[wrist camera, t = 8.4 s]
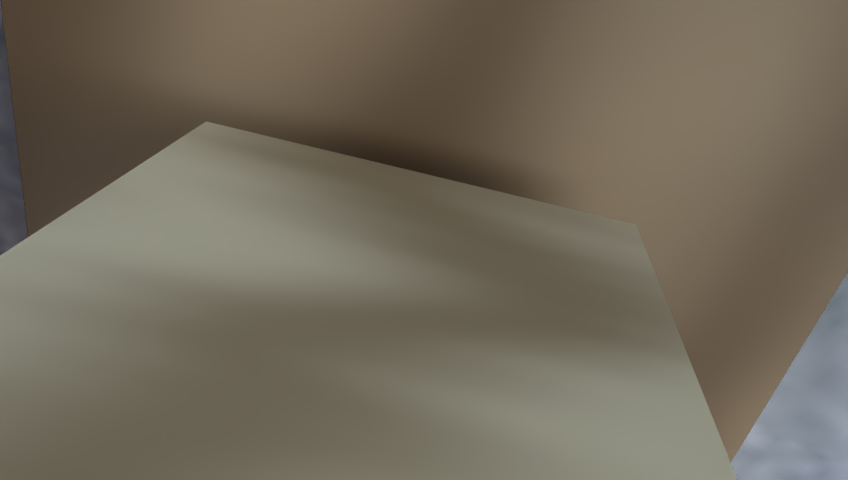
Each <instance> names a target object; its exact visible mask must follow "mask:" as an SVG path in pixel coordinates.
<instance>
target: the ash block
mask: <svg viewBox="0 0 848 480" xmlns="http://www.w3.org/2000/svg"><path fill="white" fill-rule="evenodd" d="M0 480H737V478H736V475H735V473H734V470H733V468H732V465H731V463H730V460H729V457H728V455H727V452H726V450H725V447H724V445H723V442H722V440H721V437H720V435H719V432H718V430H717V427H716V425H715V422H714V420H713V417H712V415H711V412H710V410H709V407H708V405H707V402H706V400H705V397H704V395H703V392H702V390H701V387H700V385H699V382H698V380H697V377H696V375H695V372H694V370H693V367H692V364H691V362H690V359H689V357H688V354H687V352H686V349H685V347H684V344H683V342H682V339H681V337H680V334H679V332H678V329H677V327H676V324H675V322H674V319H673V317H672V314H671V312H670V309H669V307H668V304H667V302H666V299H665V297H664V294H663V292H662V289H661V287H660V284H659V282H658V279H657V276H656V274H655V271H654V269H653V266H652V264H651V261H650V259H649V256H648V254H647V251H646V249H645V246H644V244H643V241H642V239H641V236H640V234H639V231H638V229H637V226H636V224H632V223H628V222H624V221H620V220H616V219H611V218H607V217H603V216H599V215H595V214H591V213H586V212H582V211H578V210H574V209H570V208H566V207H561V206H557V205H553V204H549V203H545V202H540V201H536V200H532V199H528V198H524V197H520V196H515V195H511V194H507V193H503V192H499V191H495V190H490V189H486V188H482V187H478V186H474V185H469V184H465V183H461V182H457V181H453V180H449V179H444V178H440V177H436V176H432V175H428V174H424V173H419V172H415V171H411V170H407V169H403V168H399V167H394V166H390V165H386V164H382V163H378V162H373V161H369V160H365V159H361V158H357V157H353V156H348V155H344V154H340V153H336V152H332V151H328V150H323V149H319V148H315V147H311V146H307V145H303V144H298V143H294V142H290V141H286V140H282V139H277V138H273V137H269V136H265V135H261V134H257V133H252V132H248V131H244V130H240V129H236V128H232V127H227V126H223V125H219V124H215V123H211V122H207V121H206V122H205V123H203V124H201V125H200V126H198V127H197V128H195V129H194V130H192V131H191V132H189V133H188V134H186V135H185V136H183V137H181V138H180V139H178V140H177V141H175V142H174V143H172V144H171V145H169V146H168V147H166V148H165V149H163V150H161V151H160V152H158V153H157V154H155V155H154V156H152V157H151V158H149V159H148V160H146V161H145V162H143V163H141V164H140V165H138V166H137V167H135V168H134V169H132V170H131V171H129V172H128V173H126V174H125V175H123V176H121V177H120V178H118V179H117V180H115V181H114V182H112V183H111V184H109V185H108V186H106V187H105V188H103V189H102V190H100V191H98V192H97V193H95V194H94V195H92V196H91V197H89V198H88V199H86V200H85V201H83V202H82V203H80V204H78V205H77V206H75V207H74V208H72V209H71V210H69V211H68V212H66V213H65V214H63V215H62V216H60V217H58V218H57V219H55V220H54V221H52V222H51V223H49V224H48V225H46V226H45V227H43V228H42V229H40V230H38V231H37V232H35V233H34V234H32V235H31V236H29V237H28V238H26V239H25V240H23V241H22V242H20V243H18V244H17V245H15V246H14V247H12V248H11V249H9V250H8V251H6V252H5V253H3V254H2V255H0Z"/></svg>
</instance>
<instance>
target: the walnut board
mask: <svg viewBox="0 0 848 480" xmlns="http://www.w3.org/2000/svg"><path fill="white" fill-rule="evenodd" d="M1 7H2V16H3V25H4V33H5V42H6V50H7V59H8V68H9V76H10V85H11V94H12V102H13V111H14V119H15V128H16V137H17V145H18V154H19V162H20V171H21V180H22V188H23V197H24V206H25V214H26V223H27V231H28V237H29V236H31V235H32V234H34V233H35V232H37V231H38V230H40V229H42V228H43V227H45V226H46V225H48V224H49V223H51V222H52V221H54V220H55V219H57V218H58V217H60V216H62V215H63V214H65V213H66V212H68V211H69V210H71V209H72V208H74V207H75V206H77V205H78V204H80V203H82V202H83V201H85V200H86V199H88V198H89V197H91V196H92V195H94V194H95V193H97V192H98V191H100V190H102V189H103V188H105V187H106V186H108V185H109V184H111V183H112V182H114V181H115V180H117V179H118V178H120V177H121V176H123V175H125V174H126V173H128V172H129V171H131V170H132V169H134V168H135V167H137V166H138V165H140V164H141V163H143V162H145V161H146V160H148V159H149V158H151V157H152V156H154V155H155V154H157V153H158V152H160V151H161V150H163V149H165V148H166V147H168V146H169V145H171V144H172V143H174V142H175V141H177V140H178V139H180V138H181V137H183V136H185V135H186V134H188V133H189V132H191V131H192V130H194V129H195V128H197V127H198V126H200V125H201V124H203V123H205V122H206V121H207V122H211V123H215V124H219V125H223V126H227V127H232V128H236V129H240V130H244V131H248V132H252V133H257V134H261V135H265V136H269V137H273V138H277V139H282V140H286V141H290V142H294V143H298V144H303V145H307V146H311V147H315V148H319V149H323V150H328V151H332V152H336V153H340V154H344V155H348V156H353V157H357V158H361V159H365V160H369V161H373V162H378V163H382V164H386V165H390V166H394V167H399V168H403V169H407V170H411V171H415V172H419V173H424V174H428V175H432V176H436V177H440V178H444V179H449V180H453V181H457V182H461V183H465V184H469V185H474V186H478V187H482V188H486V189H490V190H495V191H499V192H503V193H507V194H511V195H515V196H520V197H524V198H528V199H532V200H536V201H540V202H545V203H549V204H553V205H557V206H561V207H566V208H570V209H574V210H578V211H582V212H586V213H591V214H595V215H599V216H603V217H607V218H611V219H616V220H620V221H624V222H628V223H632V224H636V226H637V229H638V231H639V234H640V236H641V239H642V241H643V244H644V246H645V249H646V251H647V254H648V256H649V259H650V261H651V264H652V266H653V269H654V271H655V274H656V276H657V279H658V282H659V284H660V287H661V289H662V292H663V294H664V297H665V299H666V302H667V304H668V307H669V309H670V312H671V314H672V317H673V319H674V322H675V324H676V327H677V329H678V332H679V334H680V337H681V339H682V342H683V344H684V347H685V349H686V352H687V354H688V357H689V359H690V362H691V364H692V367H693V370H694V372H695V375H696V377H697V380H698V382H699V385H700V387H701V390H702V392H703V395H704V397H705V400H706V402H707V405H708V407H709V410H710V412H711V415H712V417H713V420H714V422H715V425H716V427H717V430H718V432H719V435H720V437H721V440H722V442H723V445H724V447H725V450H726V452H727V455H728V457H729V460H730V463H731V461H732V460H733V458H734V456H735V455H736V453H737V452H738V450H739V448H740V447H741V445H742V443H743V442H744V440H745V438H746V437H747V435H748V434H749V432H750V430H751V429H752V427H753V425H754V424H755V422H756V421H757V419H758V417H759V416H760V414H761V412H762V411H763V409H764V408H765V406H766V404H767V403H768V401H769V399H770V398H771V396H772V395H773V393H774V391H775V390H776V388H777V386H778V385H779V383H780V381H781V380H782V378H783V377H784V375H785V373H786V372H787V370H788V368H789V367H790V365H791V364H792V362H793V360H794V359H795V357H796V355H797V354H798V352H799V351H800V349H801V347H802V346H803V344H804V342H805V341H806V339H807V338H808V336H809V334H810V333H811V331H812V329H813V328H814V326H815V324H816V323H817V321H818V320H819V318H820V316H821V315H822V313H823V311H824V310H825V308H826V307H827V305H828V303H829V302H830V300H831V298H832V297H833V295H834V294H835V292H836V290H837V289H838V287H839V285H840V284H841V282H842V281H843V279H844V277H845V276H846V274H847V272H848V0H1Z"/></svg>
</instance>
